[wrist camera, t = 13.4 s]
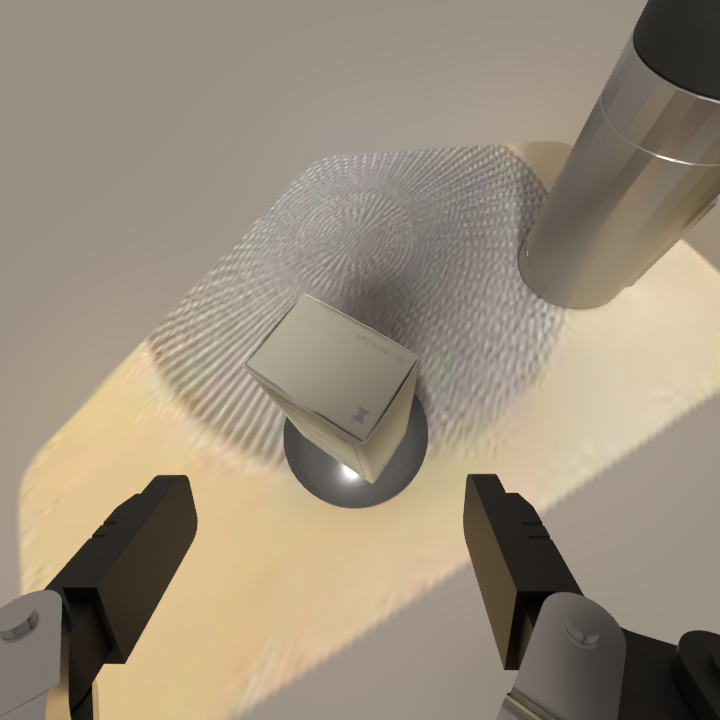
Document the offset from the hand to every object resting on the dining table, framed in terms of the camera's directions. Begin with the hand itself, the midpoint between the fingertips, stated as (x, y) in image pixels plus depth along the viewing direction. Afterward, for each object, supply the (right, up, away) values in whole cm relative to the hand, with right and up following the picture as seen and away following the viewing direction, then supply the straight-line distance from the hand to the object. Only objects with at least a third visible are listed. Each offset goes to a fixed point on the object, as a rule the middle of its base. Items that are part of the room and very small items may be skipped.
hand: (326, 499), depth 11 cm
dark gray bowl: (+1, -2, +18) cm, 18 cm away
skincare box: (0, -1, +15) cm, 15 cm away
